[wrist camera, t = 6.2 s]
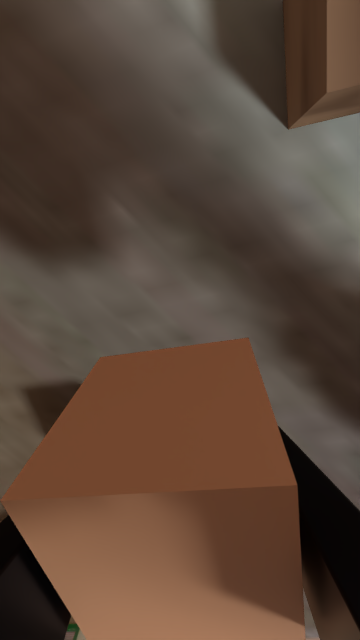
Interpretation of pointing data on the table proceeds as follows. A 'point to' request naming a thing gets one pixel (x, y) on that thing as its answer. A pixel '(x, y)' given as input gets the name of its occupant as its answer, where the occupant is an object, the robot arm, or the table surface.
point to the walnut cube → (321, 59)
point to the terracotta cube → (168, 501)
